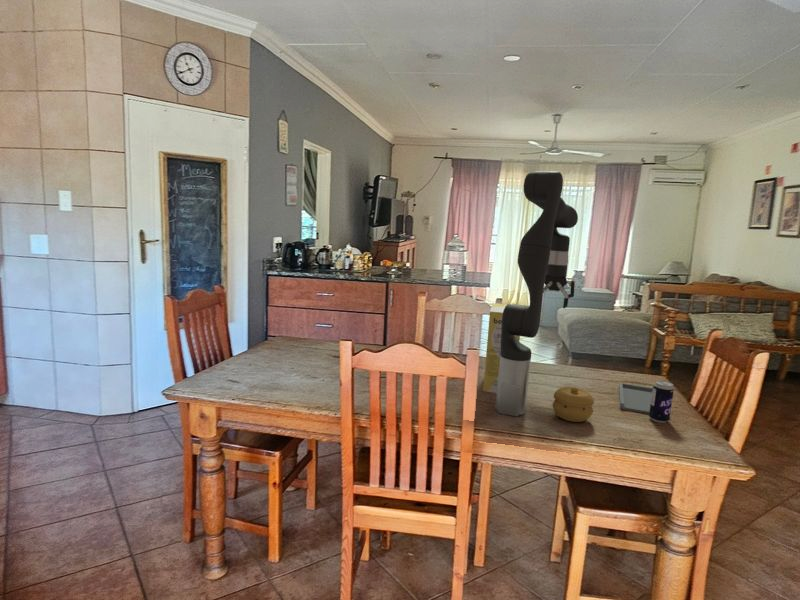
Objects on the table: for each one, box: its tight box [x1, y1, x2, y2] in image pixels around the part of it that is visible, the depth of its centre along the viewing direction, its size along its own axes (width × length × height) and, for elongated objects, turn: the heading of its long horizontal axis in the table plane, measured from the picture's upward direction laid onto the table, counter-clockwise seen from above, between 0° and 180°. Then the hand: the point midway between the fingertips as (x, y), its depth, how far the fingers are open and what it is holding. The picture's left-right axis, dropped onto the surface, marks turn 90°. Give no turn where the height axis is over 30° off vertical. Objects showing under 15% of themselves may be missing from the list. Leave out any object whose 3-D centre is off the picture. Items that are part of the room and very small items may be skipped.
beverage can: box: [648, 380, 675, 424], centre depth 156 cm, size 6×6×12 cm
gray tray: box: [618, 382, 653, 415], centre depth 173 cm, size 24×14×2 cm, turn 158°
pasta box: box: [482, 302, 521, 394], centre depth 179 cm, size 18×10×28 cm, turn 167°
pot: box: [552, 386, 595, 423], centre depth 153 cm, size 12×12×10 cm
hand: (552, 306), depth 188 cm, fingers open, 8 cm apart
